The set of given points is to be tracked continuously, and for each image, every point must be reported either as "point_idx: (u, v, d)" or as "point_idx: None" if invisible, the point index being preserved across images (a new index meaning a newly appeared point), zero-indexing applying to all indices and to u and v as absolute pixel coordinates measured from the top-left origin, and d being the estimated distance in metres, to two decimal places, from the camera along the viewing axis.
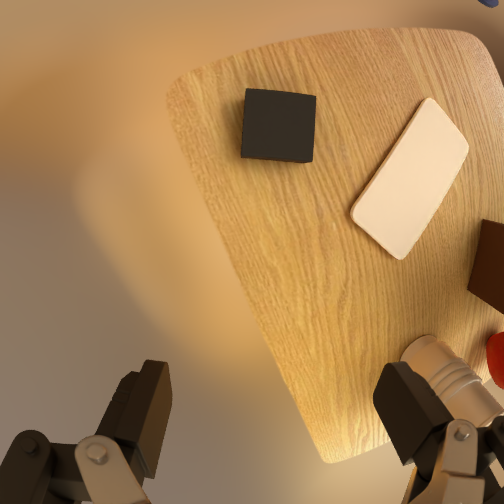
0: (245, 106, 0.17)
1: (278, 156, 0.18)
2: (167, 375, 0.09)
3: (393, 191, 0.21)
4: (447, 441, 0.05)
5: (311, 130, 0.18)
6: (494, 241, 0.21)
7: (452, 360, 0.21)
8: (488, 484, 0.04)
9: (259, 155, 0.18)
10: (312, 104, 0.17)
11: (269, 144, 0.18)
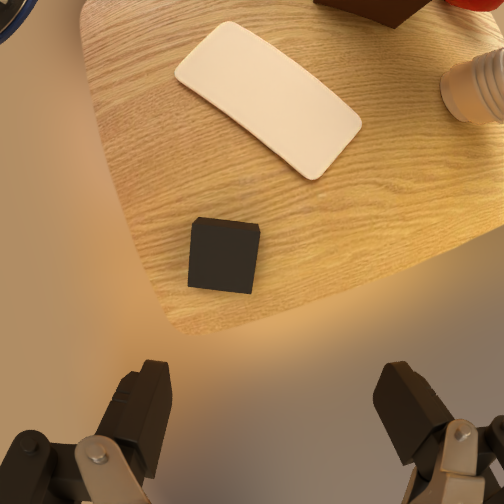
0: (205, 288, 0.21)
1: (254, 263, 0.21)
2: (167, 375, 0.09)
3: (289, 129, 0.20)
4: (447, 441, 0.05)
5: (228, 230, 0.20)
6: None
7: (473, 76, 0.14)
8: (488, 484, 0.04)
9: (252, 279, 0.21)
10: (201, 227, 0.20)
11: (242, 270, 0.21)
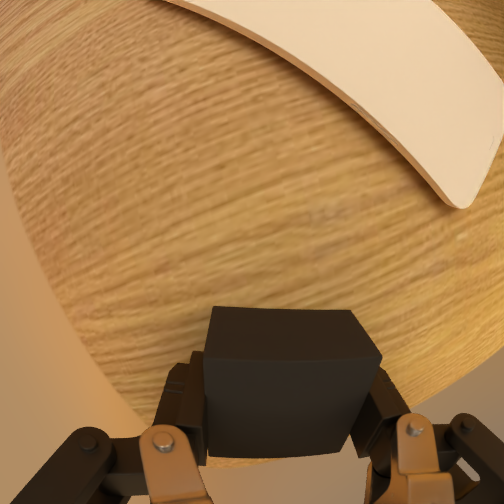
0: (247, 457, 0.08)
1: (357, 412, 0.08)
2: None
3: (418, 92, 0.07)
4: (399, 440, 0.05)
5: (306, 367, 0.07)
6: None
7: None
8: (458, 480, 0.04)
9: (346, 435, 0.08)
10: (231, 367, 0.07)
11: (328, 428, 0.08)
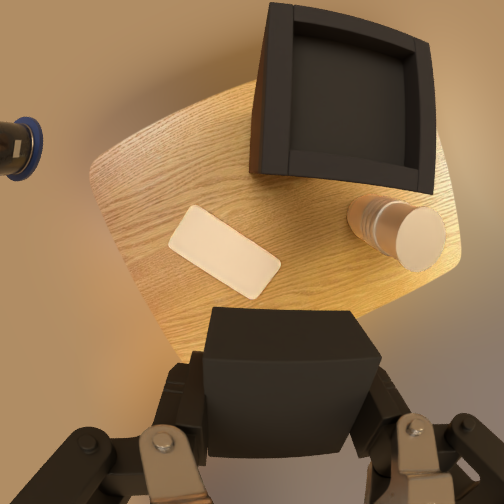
0: (247, 457, 0.08)
1: (356, 413, 0.08)
2: None
3: (237, 275, 0.40)
4: (399, 440, 0.05)
5: (306, 368, 0.07)
6: None
7: (360, 224, 0.33)
8: (458, 480, 0.04)
9: (346, 435, 0.08)
10: (230, 367, 0.07)
11: (328, 428, 0.08)
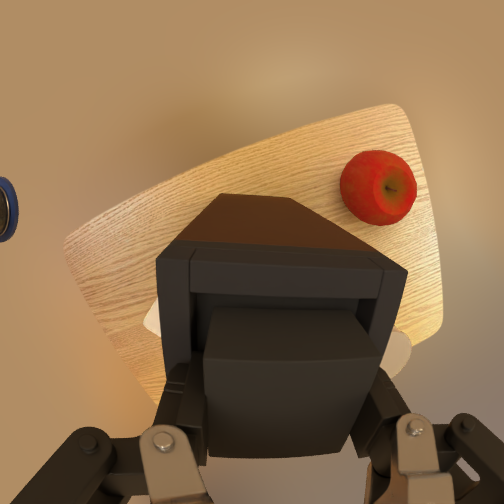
0: (247, 457, 0.08)
1: (357, 413, 0.08)
2: None
3: None
4: (399, 440, 0.05)
5: (306, 368, 0.07)
6: None
7: None
8: (458, 480, 0.04)
9: (346, 435, 0.08)
10: (231, 367, 0.07)
11: (328, 428, 0.08)
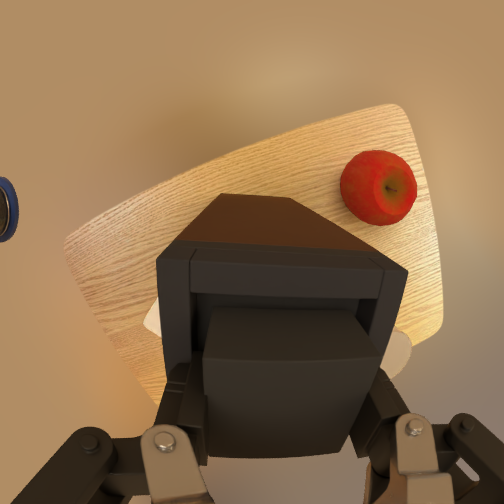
0: (247, 457, 0.08)
1: (356, 413, 0.08)
2: None
3: None
4: (398, 440, 0.05)
5: (306, 368, 0.07)
6: None
7: None
8: (458, 480, 0.04)
9: (346, 435, 0.08)
10: (230, 367, 0.07)
11: (328, 427, 0.08)
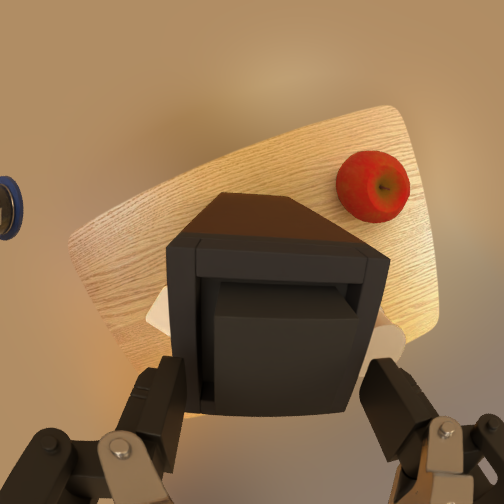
0: (248, 415, 0.10)
1: (341, 372, 0.10)
2: (183, 370, 0.09)
3: None
4: (430, 440, 0.05)
5: (296, 325, 0.09)
6: None
7: None
8: (478, 482, 0.04)
9: (334, 394, 0.10)
10: (236, 323, 0.09)
11: (318, 385, 0.10)
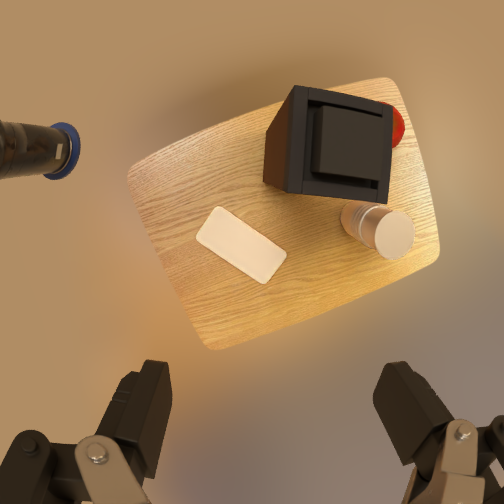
0: (338, 173, 0.19)
1: (381, 147, 0.18)
2: (167, 375, 0.09)
3: (251, 263, 0.49)
4: (447, 441, 0.05)
5: (358, 114, 0.18)
6: None
7: (349, 223, 0.42)
8: (488, 484, 0.04)
9: (381, 164, 0.19)
10: (332, 110, 0.18)
11: (372, 154, 0.18)
